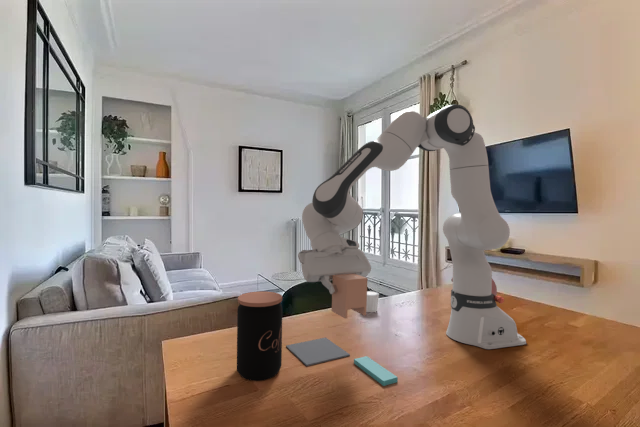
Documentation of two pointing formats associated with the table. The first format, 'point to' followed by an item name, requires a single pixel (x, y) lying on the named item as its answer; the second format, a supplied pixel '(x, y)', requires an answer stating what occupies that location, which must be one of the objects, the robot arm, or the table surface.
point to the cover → (349, 294)
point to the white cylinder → (372, 301)
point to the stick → (376, 371)
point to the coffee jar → (259, 335)
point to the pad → (317, 351)
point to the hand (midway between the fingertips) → (347, 291)
